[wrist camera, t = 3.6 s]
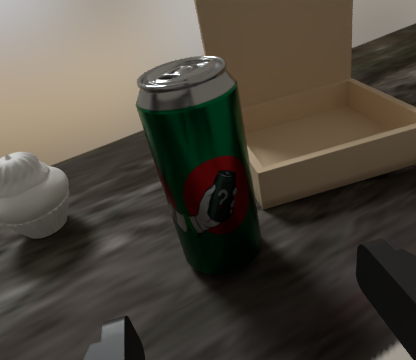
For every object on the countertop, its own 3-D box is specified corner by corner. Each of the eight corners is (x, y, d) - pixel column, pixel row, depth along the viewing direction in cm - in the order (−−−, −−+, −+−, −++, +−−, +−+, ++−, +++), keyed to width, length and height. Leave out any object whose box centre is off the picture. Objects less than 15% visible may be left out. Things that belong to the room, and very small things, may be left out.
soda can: (275, 235, 23) (253, 51, 17) (237, 293, 20) (191, 91, 13) (213, 218, 26) (173, 54, 19) (171, 265, 23) (106, 88, 16)
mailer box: (263, 209, 25) (229, -27, 17) (221, 140, 36) (188, -26, 28) (436, 158, 26) (482, -88, 18) (346, 105, 37) (350, -65, 29)
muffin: (2, 231, 30) (-46, 162, 26) (67, 195, 33) (33, 129, 29) (22, 265, 26) (-31, 188, 22) (96, 220, 29) (60, 145, 25)
